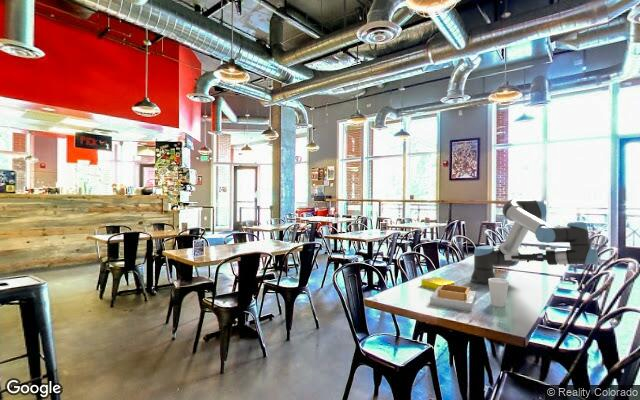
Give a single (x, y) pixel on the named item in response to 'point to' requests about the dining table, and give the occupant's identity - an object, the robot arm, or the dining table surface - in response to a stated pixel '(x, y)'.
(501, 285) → the foam cup
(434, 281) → the element tile
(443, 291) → the wooden box on base
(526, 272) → the dining table surface
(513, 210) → the robot arm
